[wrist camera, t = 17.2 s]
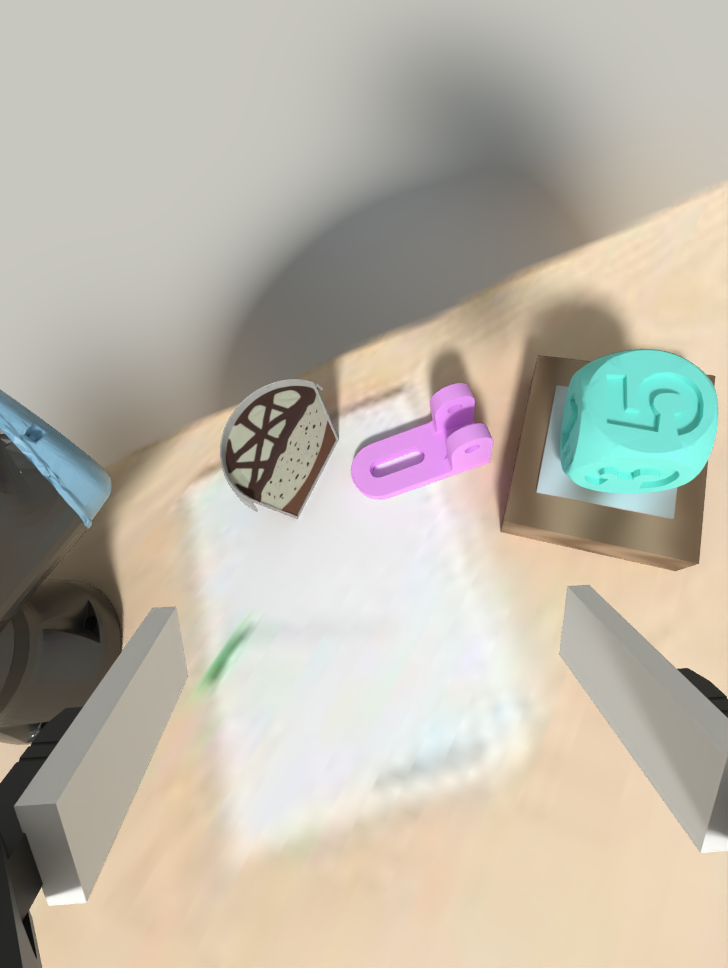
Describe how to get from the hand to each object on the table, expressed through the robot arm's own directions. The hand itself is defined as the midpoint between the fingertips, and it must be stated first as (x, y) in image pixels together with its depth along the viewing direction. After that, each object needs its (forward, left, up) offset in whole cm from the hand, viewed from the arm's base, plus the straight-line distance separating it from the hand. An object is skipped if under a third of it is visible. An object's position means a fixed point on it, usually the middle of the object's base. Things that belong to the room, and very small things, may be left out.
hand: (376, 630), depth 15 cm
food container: (-18, +12, -26) cm, 34 cm away
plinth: (+11, +18, -26) cm, 34 cm away
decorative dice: (+11, +18, -22) cm, 31 cm away
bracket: (-5, +16, -26) cm, 31 cm away
